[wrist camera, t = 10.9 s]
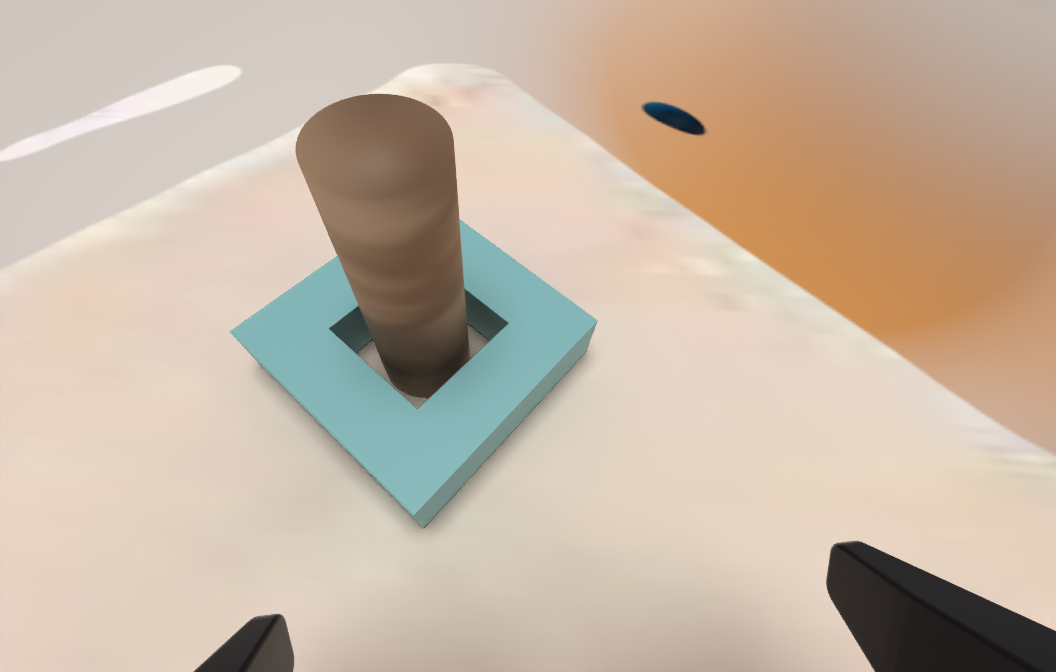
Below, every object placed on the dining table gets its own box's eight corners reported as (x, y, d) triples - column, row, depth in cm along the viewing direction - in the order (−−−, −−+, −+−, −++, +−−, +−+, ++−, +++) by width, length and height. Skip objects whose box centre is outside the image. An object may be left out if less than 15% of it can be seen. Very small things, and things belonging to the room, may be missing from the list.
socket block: (423, 528, 20) (413, 515, 17) (259, 363, 23) (229, 331, 20) (586, 351, 24) (597, 320, 22) (431, 233, 27) (425, 193, 25)
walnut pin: (404, 411, 22) (325, 219, 11) (372, 342, 24) (276, 116, 13) (483, 374, 23) (479, 168, 13) (448, 311, 25) (417, 80, 14)
